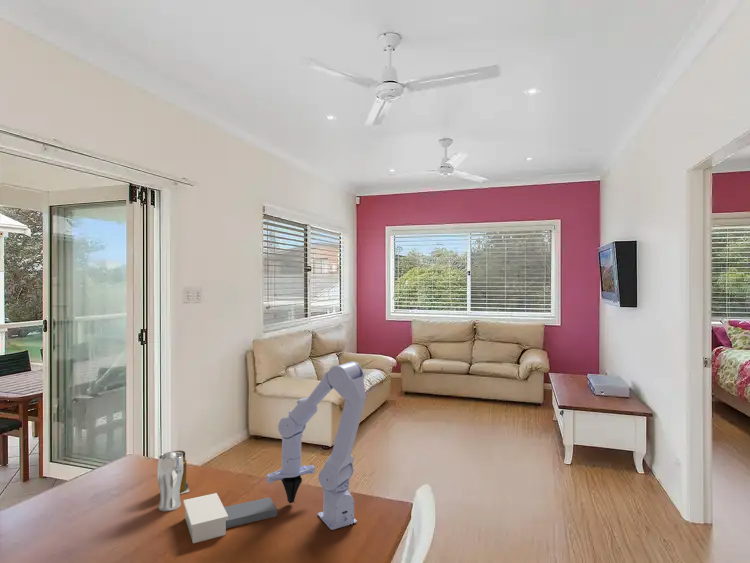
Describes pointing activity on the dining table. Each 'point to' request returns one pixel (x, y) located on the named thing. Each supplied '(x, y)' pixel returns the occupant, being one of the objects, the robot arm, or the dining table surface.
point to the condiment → (184, 483)
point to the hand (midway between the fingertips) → (290, 501)
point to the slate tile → (250, 512)
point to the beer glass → (170, 480)
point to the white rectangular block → (205, 517)
